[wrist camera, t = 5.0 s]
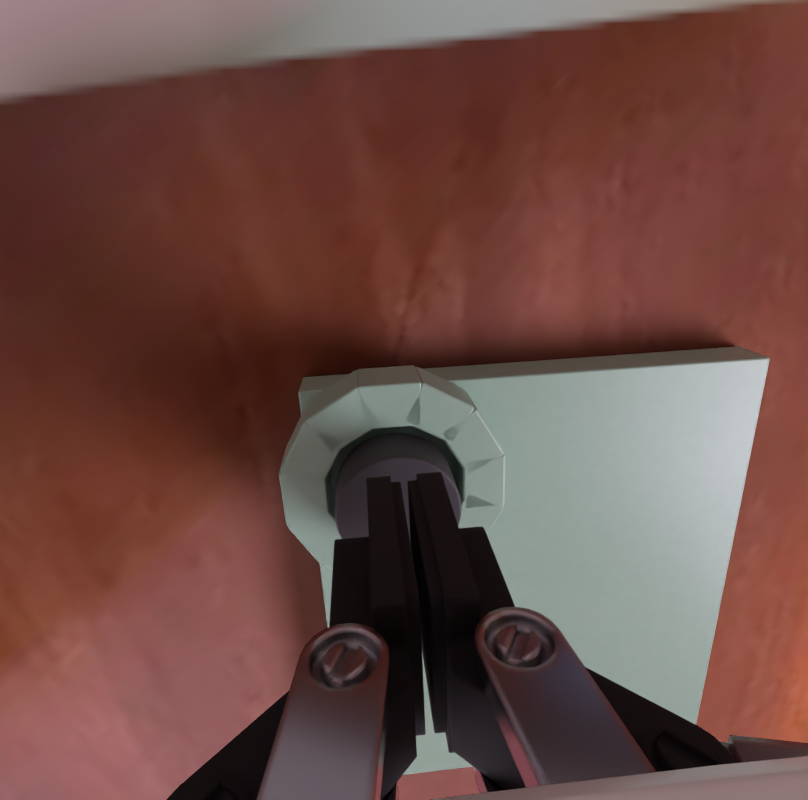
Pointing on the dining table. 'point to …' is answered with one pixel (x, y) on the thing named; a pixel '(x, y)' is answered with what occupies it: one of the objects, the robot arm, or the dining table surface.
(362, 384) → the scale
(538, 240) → the dining table surface
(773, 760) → the robot arm
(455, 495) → the tare button
